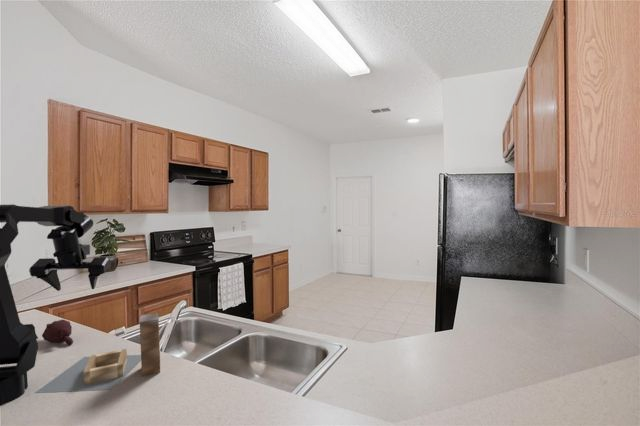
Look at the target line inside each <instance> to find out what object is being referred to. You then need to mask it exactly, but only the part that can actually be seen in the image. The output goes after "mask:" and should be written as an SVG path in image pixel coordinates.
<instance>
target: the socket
mask: <svg viewBox="0 0 640 426" xmlns="http://www.w3.org/2000/svg"><path fill="white" fill-rule="evenodd" d="M127 355H128V352H127V348H123V349H118V350H114V351H108V352H103V353H97V354H93V355H92V354H91V356H89V357H90V359H89V361H88V363H87V366H86V368H85V370H84V372H83V376H84V385H86V384H90V383H95V382H99V381H103V380H108V379H112V378H117V377H121V376H124V371H125V366H126V362H127Z"/></svg>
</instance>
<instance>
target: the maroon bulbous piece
mask: <svg viewBox="0 0 640 426" xmlns="http://www.w3.org/2000/svg"><path fill="white" fill-rule="evenodd" d="M72 328H73V326H72V324H71V322H70V321H68V320H66V319H59V320H54V321H52V322H51V323H47V324H46V328H45V329H44V332H43V333H41V337H42V338H43V341H46V342H48V343H50V344H51V343H53V344H54V343H62V342H64V343H65V344H66V345H68V346H71V345H73V343H74V340H73V338H72V337H71V336H70V335H72V330H73V329H72Z"/></svg>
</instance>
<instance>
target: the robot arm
mask: <svg viewBox="0 0 640 426" xmlns="http://www.w3.org/2000/svg"><path fill="white" fill-rule="evenodd" d="M0 223H5V224H4V225H3V226H2V227H0V407H2V406H4V405H5V404H7V403H10V402H13V401H16V400H17V399H19V398H20V397H22V396H23V395H24V394H25V392H26V390H27V389H28V387H29V385H28V372H29V371H31V370H32V369H33V368H34V367H36V361H37V356H38V355H37V354H38V349H39V343H38V339H39V337H38V335H37V333H36V327H35V325H34V324H33V323H28V324H27V323H25V324H24V323H22V322H21V320H20V317H19V313H18V310H17V305H16V301H15V298H14V295H13V291H12V288H11V284H10V280H9V276H8V272H7V269H6V263H7V261H8V259H9V257H10V256H11V254H12V245H11V244H12V243H13V241H14V240H15V239H16V238H17V236H18V235H19V228H18V224H19V223H37V224H38V225H39V226H44V227H56V228H55V229H54V228H53V229H52V228H51V231H50V232H49V233H48V234H47V235H46V239H48V240H49V239H50V240H52V243H53V247H54V252H53V253H52V254H53V258H49V257H48V258H46V257H45V258H38V259H37V260H36V262H34V263H33V264H32V265H31V266H30V267H29V269H28V272H29V275H30V277H35V278H36V279H40V280H42V281H44V282H45V283H47V284H48V285H49V286H51V287H52V288H53V289H55V290H56V291H58V292H59V291H61V289H62V287H61V282H60V278H59V275H58V270H59V271H63V270H81V269H83V270H85V269H87V271H88V279H89V283H90V284H89V285H90V288H91V289H92V290H95V288H96V286H97V282H98V277H99V276H101V275H103V274H106V271H107V270H108V269H109V266H111V259H110V258H109V257H107V256H99V257H97V256H94V257H93V259H92V260H91V261H85V260H86V259H87V255H88V256H89V255H91V244H82V243H80V241H79V238H82V237H83V236H84V235H85V234H86V233H87V232H88V231H89V230H91V229H92V228H93V226H94V220H93V219H92V218H91V217H90V216H89V215H86V214H85V213H84V211H82V210H81V211H79V210H78V211H77V210H75V208H74V206H72V205H42V206H24V205H22V206H21V205H16V204H13V203H12V204H0ZM55 258H56V259H57V262H56V259H55Z"/></svg>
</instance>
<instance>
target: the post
mask: <svg viewBox="0 0 640 426" xmlns="http://www.w3.org/2000/svg"><path fill="white" fill-rule="evenodd" d="M139 336H140V337H139V338H140V355H141V361H140V362H141V363H140V364H141V378H142V377H146V376H150V375H155V374H159V373H161V346H160V323H159V312H154V313H149V314H141V315H140V318H139Z"/></svg>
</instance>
